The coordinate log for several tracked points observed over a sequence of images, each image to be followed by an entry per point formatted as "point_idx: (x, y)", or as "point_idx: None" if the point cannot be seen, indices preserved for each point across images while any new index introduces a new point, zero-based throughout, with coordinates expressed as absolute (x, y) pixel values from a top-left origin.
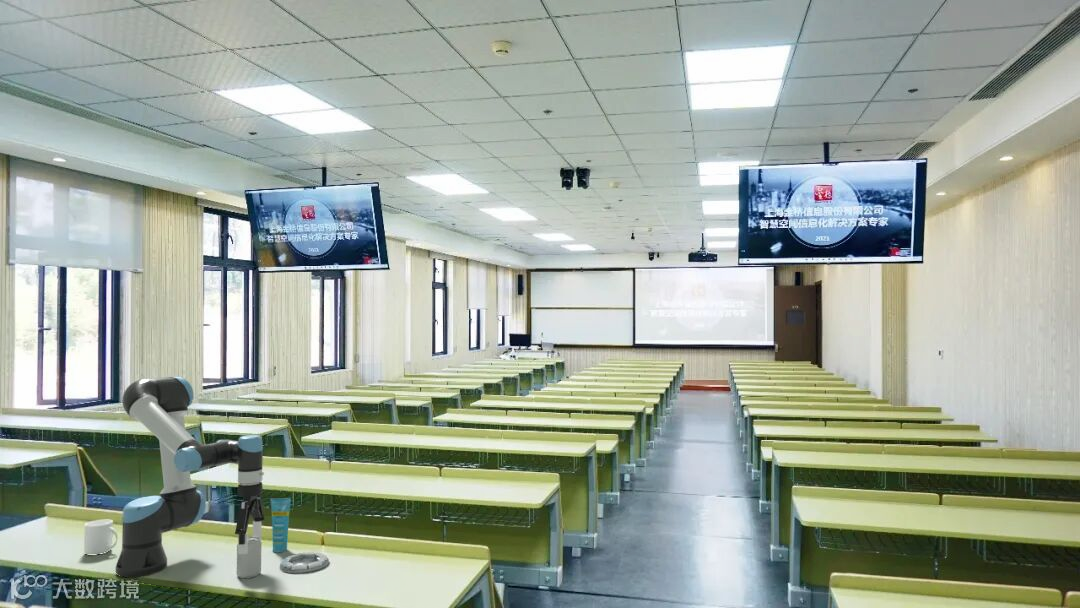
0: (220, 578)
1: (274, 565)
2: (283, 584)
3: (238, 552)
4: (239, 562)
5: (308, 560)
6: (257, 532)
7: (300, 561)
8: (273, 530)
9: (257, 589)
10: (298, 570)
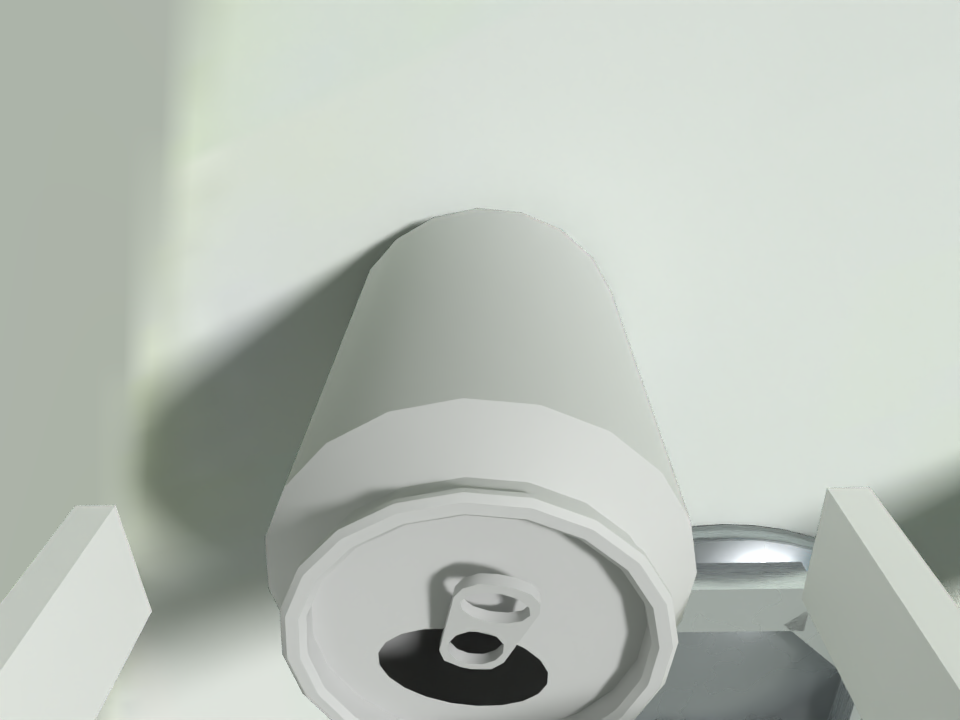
0: (378, 20)
1: (748, 470)
2: (263, 645)
3: (61, 532)
4: (340, 347)
5: (757, 708)
6: (882, 691)
7: (745, 665)
8: None
9: (127, 509)
10: None
